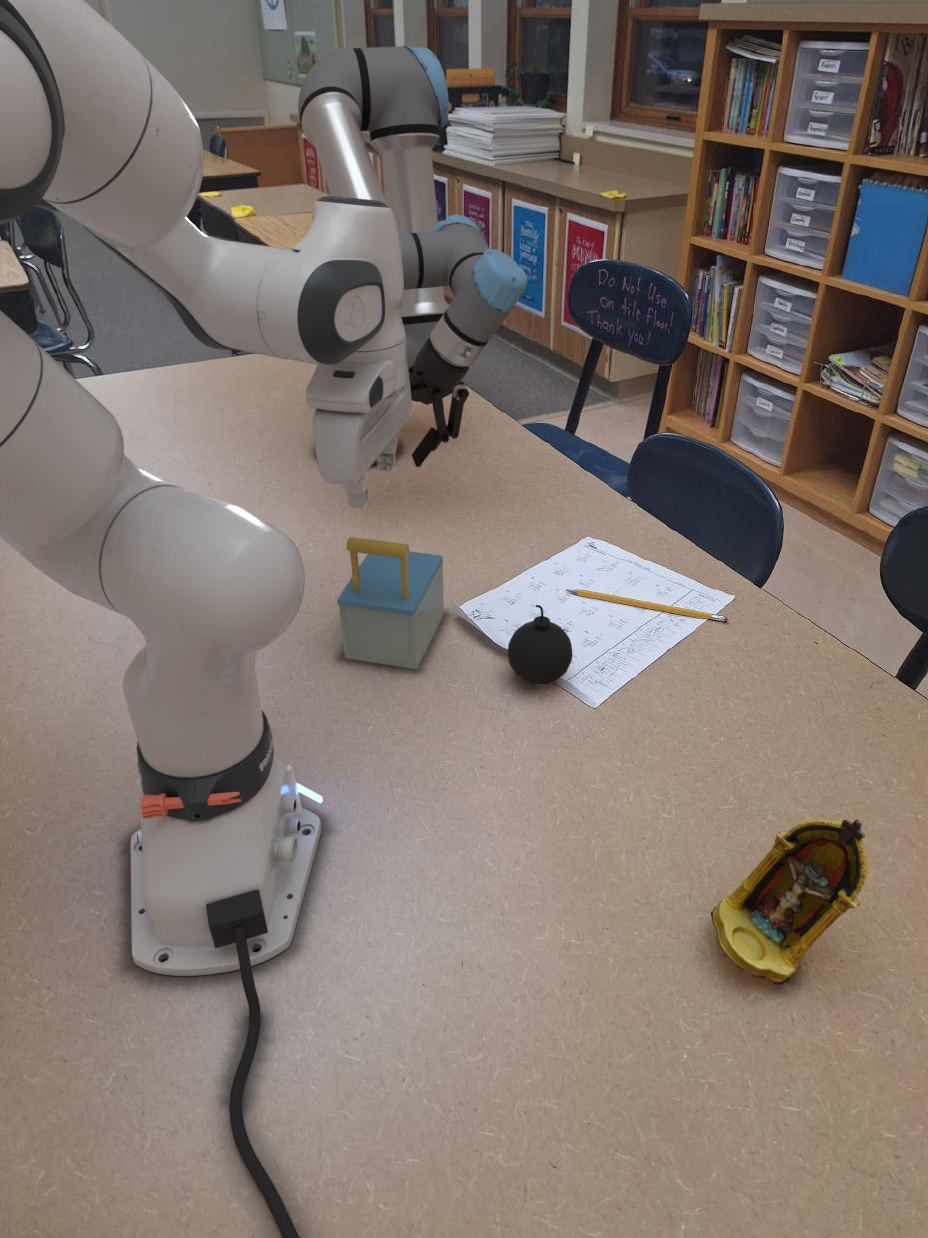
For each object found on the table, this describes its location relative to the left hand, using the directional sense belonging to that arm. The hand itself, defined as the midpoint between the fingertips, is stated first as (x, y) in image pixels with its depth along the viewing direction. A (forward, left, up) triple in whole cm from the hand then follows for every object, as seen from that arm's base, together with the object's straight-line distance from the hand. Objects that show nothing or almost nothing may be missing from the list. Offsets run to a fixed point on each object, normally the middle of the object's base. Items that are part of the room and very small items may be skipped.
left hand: (373, 486), depth 98 cm
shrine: (-47, -32, -24) cm, 62 cm away
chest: (+4, -2, -24) cm, 25 cm away
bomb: (-7, -19, -24) cm, 32 cm away
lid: (+4, -2, -16) cm, 16 cm away
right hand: (+42, -2, -15) cm, 44 cm away
